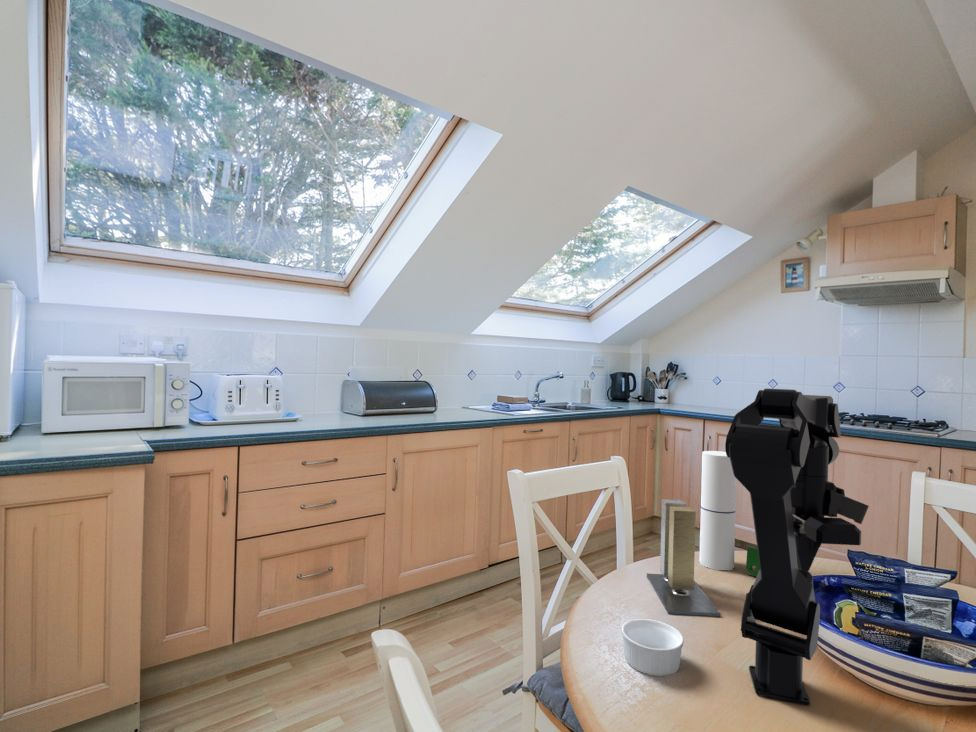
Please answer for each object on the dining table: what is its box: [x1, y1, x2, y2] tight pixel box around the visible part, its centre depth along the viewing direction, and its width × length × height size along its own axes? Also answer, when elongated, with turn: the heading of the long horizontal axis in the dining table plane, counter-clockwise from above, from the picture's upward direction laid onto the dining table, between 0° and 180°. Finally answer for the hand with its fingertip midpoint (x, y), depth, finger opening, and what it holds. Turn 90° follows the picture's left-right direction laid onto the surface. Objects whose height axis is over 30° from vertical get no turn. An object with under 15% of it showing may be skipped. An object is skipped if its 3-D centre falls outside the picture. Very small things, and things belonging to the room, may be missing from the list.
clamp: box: [745, 546, 809, 578], centre depth 110 cm, size 12×6×9 cm, turn 47°
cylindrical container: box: [698, 450, 737, 571], centre depth 116 cm, size 7×7×25 cm
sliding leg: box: [668, 506, 697, 591], centre depth 100 cm, size 3×4×16 cm
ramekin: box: [621, 618, 685, 677], centre depth 77 cm, size 9×9×4 cm
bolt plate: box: [646, 498, 721, 618], centre depth 100 cm, size 16×9×17 cm, turn 176°
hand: (804, 570), depth 83 cm, fingers closed
